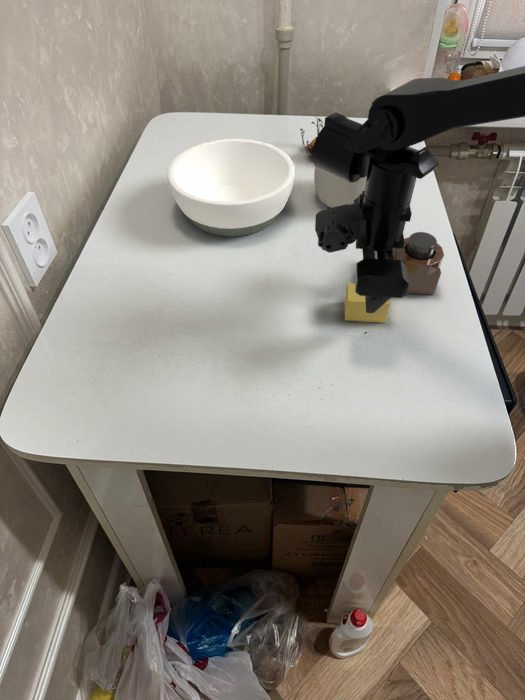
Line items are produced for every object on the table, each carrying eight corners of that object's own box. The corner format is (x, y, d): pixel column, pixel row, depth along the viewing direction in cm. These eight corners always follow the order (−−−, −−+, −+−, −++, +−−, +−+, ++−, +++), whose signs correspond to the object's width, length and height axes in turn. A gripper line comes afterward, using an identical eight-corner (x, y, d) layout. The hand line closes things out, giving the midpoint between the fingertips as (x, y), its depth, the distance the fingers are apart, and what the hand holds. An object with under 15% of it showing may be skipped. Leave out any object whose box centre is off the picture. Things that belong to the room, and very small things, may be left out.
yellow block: (383, 304, 77) (388, 284, 74) (385, 322, 75) (390, 303, 72) (344, 302, 78) (347, 282, 75) (344, 320, 75) (347, 301, 72)
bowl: (220, 167, 105) (216, 127, 98) (314, 198, 97) (317, 157, 90) (148, 221, 92) (140, 179, 86) (250, 262, 84) (249, 219, 78)
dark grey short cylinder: (435, 261, 75) (439, 248, 73) (408, 260, 75) (411, 248, 73) (430, 244, 77) (434, 232, 75) (404, 244, 77) (407, 231, 76)
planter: (356, 176, 102) (363, 123, 93) (389, 208, 94) (401, 153, 86) (301, 190, 98) (304, 136, 90) (331, 224, 91) (337, 169, 83)
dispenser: (436, 298, 78) (447, 265, 73) (383, 296, 78) (391, 264, 74) (426, 262, 84) (436, 229, 79) (377, 261, 84) (384, 228, 79)
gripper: (322, 154, 68) (314, 247, 80) (320, 238, 56) (311, 333, 67) (406, 157, 67) (385, 251, 79) (421, 243, 55) (394, 338, 67)
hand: (368, 290), depth 73 cm, fingers open, 9 cm apart
